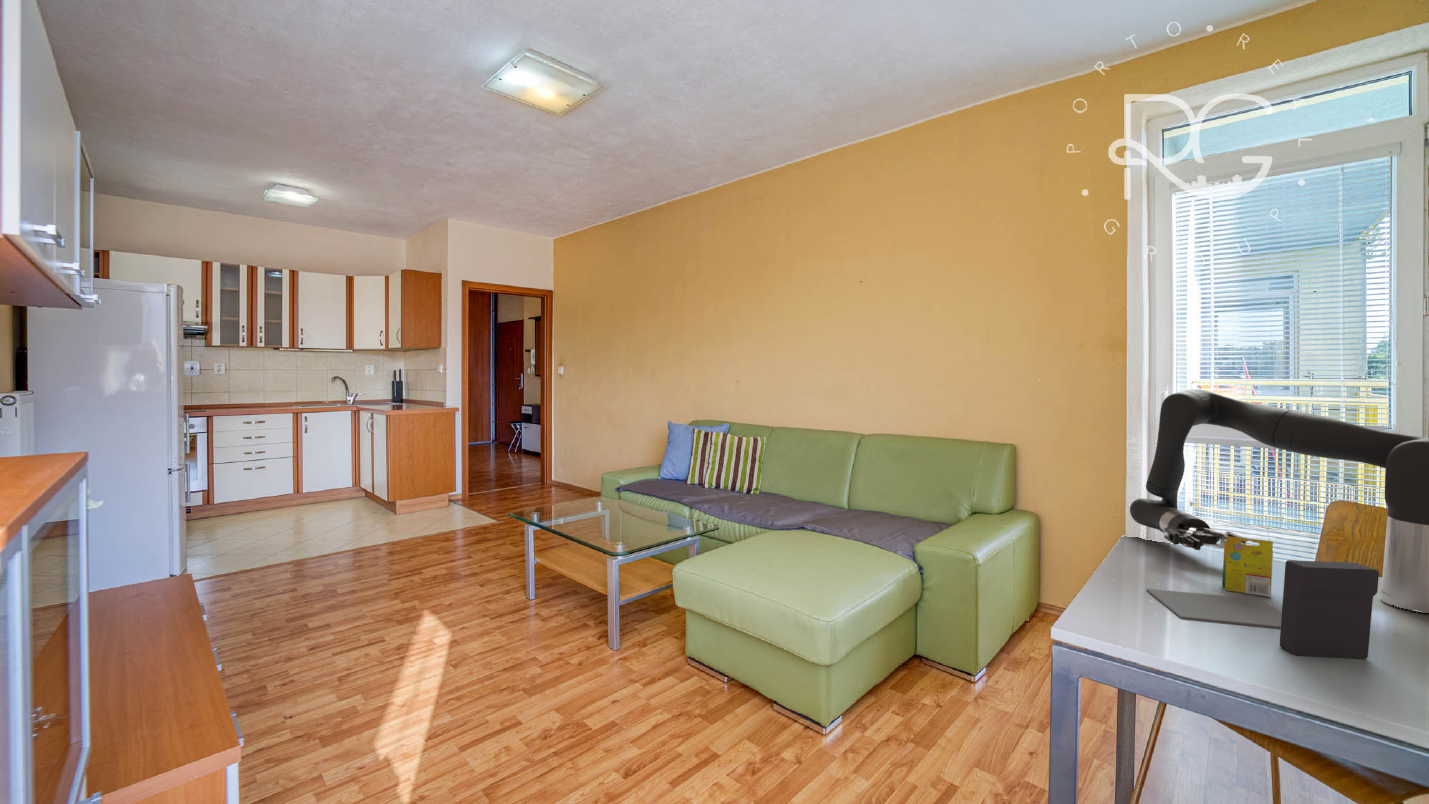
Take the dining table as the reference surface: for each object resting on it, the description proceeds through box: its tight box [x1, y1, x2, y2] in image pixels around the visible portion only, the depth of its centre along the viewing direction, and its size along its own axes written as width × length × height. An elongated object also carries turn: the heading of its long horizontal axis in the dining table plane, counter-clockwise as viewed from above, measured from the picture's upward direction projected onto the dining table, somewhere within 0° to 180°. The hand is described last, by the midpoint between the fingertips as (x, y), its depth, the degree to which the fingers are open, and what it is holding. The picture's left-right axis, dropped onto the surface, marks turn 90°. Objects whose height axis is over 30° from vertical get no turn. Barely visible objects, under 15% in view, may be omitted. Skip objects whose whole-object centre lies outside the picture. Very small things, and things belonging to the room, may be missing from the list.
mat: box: [1145, 588, 1282, 630], centre depth 113 cm, size 20×14×1 cm
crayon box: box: [1221, 536, 1274, 598], centre depth 122 cm, size 7×3×12 cm, turn 58°
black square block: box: [1279, 559, 1380, 660], centre depth 96 cm, size 11×4×15 cm, turn 84°
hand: (1221, 547), depth 131 cm, fingers open, 8 cm apart
